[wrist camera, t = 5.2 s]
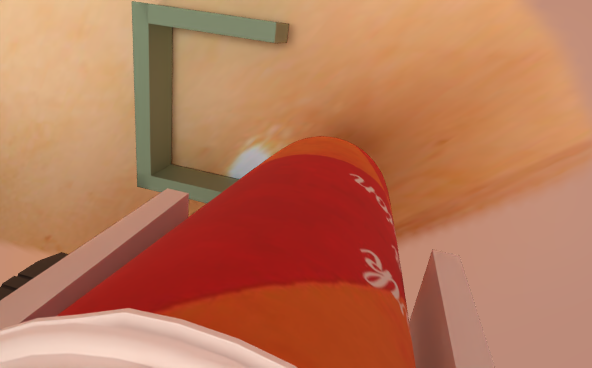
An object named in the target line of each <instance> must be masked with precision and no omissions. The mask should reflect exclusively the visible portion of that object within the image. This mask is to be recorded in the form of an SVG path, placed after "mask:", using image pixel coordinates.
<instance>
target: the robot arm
mask: <svg viewBox="0 0 592 368" xmlns="http://www.w3.org/2000/svg"><path fill="white" fill-rule="evenodd" d="M188 201H189V193H185V192H181V191H177V190H172V189H168V188H167V189H166V190H164V191H163V192H161V193H160V194H158V195H157V196H155V197H154V198H152V199H151V200H149V201H148V202H146V203H145V204H143V205H142V206H140V207H139V208H137V209H136V210H134V211H133V212H131V213H130V214H128V215H127V216H125V217H124V218H123V219H121V220H120V221H118V222H117V223H115V224H114V225H112V226H111V227H109V228H108V229H106V230H105V231H103V232H102V233H100V234H99V235H97V236H96V237H94V238H93V239H91V240H90V241H88V242H87V243H85V244H84V245H82V246H81V247H79V248H78V249H76V250H75V251H73V252H72V253H70V254H65V253H62V252H61V253H59V254H56V255H53V256H50V257H48V258H45V259H42V260H40V261H38V262H36V263H34V264H33V265H31V266H29V267H28V268H26V269H25V270H23V271H22V272H20V273H19V274H18V276H17V277H16V276H14V277H12V278H10V279H9V280H7V281H6V282H4V283H3V284H2V286H1V287H0V330H2V329H3V328H6V327H9V326H12V325H16V324H19V323H23V322H26V321H29V320H33V319H36V318H44V317H55V316H57V315H58V314H60V313H61V312H62V311H64V310H65V309H66V308H68V307H69V306H70V305H72V304H73V303H74V302H76V301H77V300H78V299H80V298H81V297H82V296H84V295H85V294H86V293H88V292H89V291H90V290H92V289H93V288H94V287H96V286H97V285H98V284H100V283H101V282H102V281H104V280H105V279H106V278H108V277H109V276H111V275H112V274H113V273H115V272H116V271H117V270H119V269H120V268H121V267H123V266H124V265H125V264H127V263H128V262H129V261H131V260H132V259H133V258H135V257H136V256H137V255H139V254H140V253H141V252H143V251H144V250H145V249H147V248H148V247H149V246H151V245H152V244H153V243H155V242H156V241H157V240H159V239H160V238H161V237H163V236H164V235H166V234H167V233H168V232H170V231H171V230H172V229H174V228H175V227H176V226H178V225H179V224H180V223H182V222H183V221H184V220H186V219H187V218H188ZM409 325H410V332H411V339H412V345H413V352H414V358H415V365H416V368H495V366H494V363H493V360H492V357H491V354H490V350H489V347H488V345H487V341H486V338H485V335H484V332H483V329H482V325H481V322H480V319H479V316H478V313H477V310H476V306H475V303H474V300H473V297H472V294H471V290H470V287H469V284H468V281H467V278H466V275H465V272H464V268H463V265H462V262H461V259H460V256H459V255H454V254H450V253H446V252H441V251H437V250H432V253H431V256H430V259H429V262H428V265H427V269H426V272H425V274H424V278H423V281H422V284H421V287H420V290H419V293H418V296H417V299H416V303H415V306H414V309H413V312H412V315H411V319H410V321H409Z"/></svg>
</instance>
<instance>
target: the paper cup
mask: <svg viewBox="0 0 592 368" xmlns="http://www.w3.org/2000/svg"><path fill="white" fill-rule="evenodd" d="M0 368H416V365H415V358H414V352H413V345H412V339H411V332H410V325H409V319H408V312H407V305H406V299H405V293H404V286H403V279H402V272H401V266H400V261H399V253H398V247H397V240H396V234H395V228H394V222H393V216H392V210H391V204H390V199H389V194H388V190H387V186H386V183H385V180H384V178H383V175H382V173H381V171H380V170H379V168H378V166H377V165H376V164H375V162H374V161H373V160H372V159H371V158H370V156H368V155H367V154H366V153H365V152H364V151H363V150H361V149H360V148H359V147H357V146H355V145H353V144H352V143H349V142H347V141H345V140H342V139H338V138H334V137H324V136H318V137H310V138H305V139H302V140H299V141H296V142H294V143H292V144H290V145H288V146H286V147H285V148H283V149H281V150H280V151H278V152H277V153H276V154H274V155H273V156H271V157H270V158H268V159H267V160H265V161H264V162H263V163H261V164H260V165H259V166H257V167H256V168H254V169H253V170H252V171H250V172H249V173H248V174H246V175H245V176H243V177H242V178H241V179H239V180H238V181H237V182H235V183H234V184H233V185H231V186H230V187H229V188H227V189H226V190H225V191H223V192H222V193H220V194H219V195H218V196H216V197H215V198H214V199H212V200H211V201H210V202H208V203H207V204H206V205H204V206H203V207H202V208H200V209H199V210H198V211H196V212H195V213H194V214H192V215H191V216H190V217H188V218H187V219H186V220H184V221H183V222H182V223H180V224H179V225H178V226H176V227H175V228H174V229H172V230H171V231H170V232H168V233H167V234H166V235H164V236H163V237H161V238H160V239H159V240H157V241H156V242H155V243H153V244H152V245H151V246H149V247H148V248H147V249H145V250H144V251H143V252H141V253H140V254H139V255H137V256H136V257H135V258H133V259H132V260H131V261H129V262H128V263H127V264H125V265H124V266H123V267H121V268H120V269H119V270H117V271H116V272H115V273H113V274H112V275H111V276H109V277H108V278H106V279H105V280H104V281H102V282H101V283H100V284H98V285H97V286H96V287H94V288H93V289H92V290H90V291H89V292H88V293H86V294H85V295H84V296H82V297H81V298H80V299H78V300H77V301H76V302H74V303H73V304H72V305H70V306H69V307H68V308H66V309H65V310H64V311H62V312H61V313H60V314H58V315H57V316H55V317H44V318H36V319H33V320H29V321H26V322H23V323H19V324H16V325H12V326H9V327H6V328H3V329H2V330H0Z"/></svg>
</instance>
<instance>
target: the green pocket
mask: <svg viewBox="0 0 592 368" xmlns="http://www.w3.org/2000/svg"><path fill="white" fill-rule="evenodd" d="M132 25H133V59H134V92H135V125H136V158H137V187H141V188H145V189H150V190H154V191H158V192H163V191H164V190H166V189H167V188H168V189H172V190H177V191H181V192H185V193H189V199H191V200H196V201H200V202H204V203H208V202H210V201H211V200H212V199H214V198H215V197H216V196H218V195H219V194H220V193H222V192H223V191H225V190H226V189H227V188H229V187H230V186H231V185H233V184H234V183H235V182H237V181H238V180H239V179H235V178H231V177H226V176H222V175H217V174H213V173H208V172H204V171H199V170H195V169H190V168H186V167H182V166H177V165H173V164H171V151H172V27H175V28H182V29H188V30H195V31H201V32H207V33H214V34H220V35H227V36H233V37H240V38H246V39H252V40H259V41H265V42H272V43H287V37H288V28H289V24H286V23H279V22H272V21H265V20H258V19H251V18H244V17H237V16H231V15H224V14H217V13H210V12H203V11H196V10H189V9H183V8H176V7H169V6H162V5H155V4H148V3H141V2H134V1H132Z"/></svg>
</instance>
